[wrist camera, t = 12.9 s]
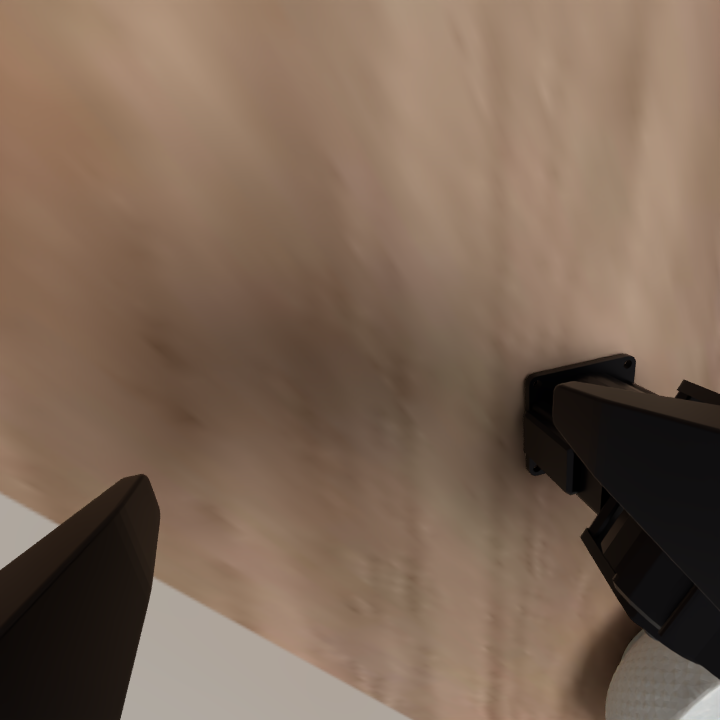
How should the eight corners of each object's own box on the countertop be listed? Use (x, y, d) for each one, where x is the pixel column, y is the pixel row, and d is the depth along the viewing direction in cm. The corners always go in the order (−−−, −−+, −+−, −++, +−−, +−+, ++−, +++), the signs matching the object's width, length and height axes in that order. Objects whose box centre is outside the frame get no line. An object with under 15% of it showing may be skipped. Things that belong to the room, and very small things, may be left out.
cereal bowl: (760, 656, 38) (861, 749, 32) (597, 745, 38) (664, 857, 32) (743, 529, 32) (864, 612, 25) (547, 635, 32) (618, 746, 25)
